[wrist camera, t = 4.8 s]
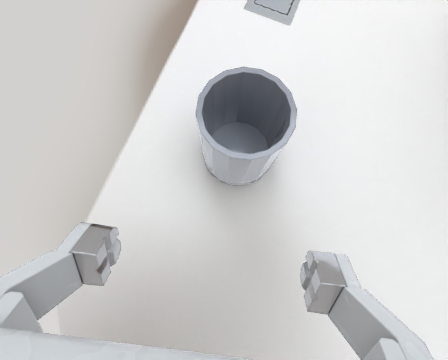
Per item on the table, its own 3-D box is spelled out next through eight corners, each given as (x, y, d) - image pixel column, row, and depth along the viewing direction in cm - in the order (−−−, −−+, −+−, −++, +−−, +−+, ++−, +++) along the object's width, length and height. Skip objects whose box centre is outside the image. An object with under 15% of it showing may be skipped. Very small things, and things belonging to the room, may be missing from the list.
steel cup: (267, 189, 23) (292, 166, 15) (198, 180, 23) (188, 151, 16) (274, 125, 25) (300, 74, 17) (209, 116, 25) (204, 61, 17)
